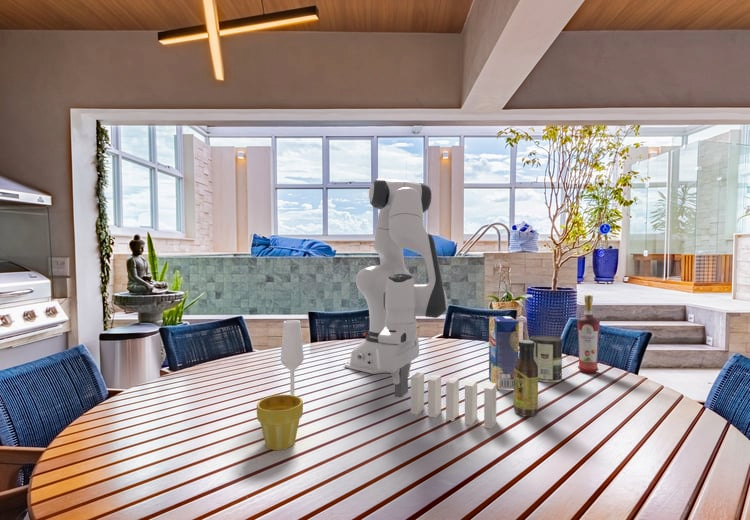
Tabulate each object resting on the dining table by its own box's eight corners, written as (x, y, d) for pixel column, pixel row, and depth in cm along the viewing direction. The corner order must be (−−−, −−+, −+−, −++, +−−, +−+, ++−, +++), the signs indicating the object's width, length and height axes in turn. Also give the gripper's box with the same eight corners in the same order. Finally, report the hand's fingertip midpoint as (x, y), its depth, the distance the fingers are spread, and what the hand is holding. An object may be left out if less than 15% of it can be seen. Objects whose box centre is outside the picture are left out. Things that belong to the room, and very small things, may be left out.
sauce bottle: (510, 408, 118) (510, 338, 117) (532, 408, 118) (533, 338, 117) (518, 417, 111) (518, 343, 111) (541, 417, 111) (542, 343, 111)
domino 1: (394, 396, 117) (394, 361, 117) (401, 391, 121) (401, 357, 121) (401, 397, 116) (400, 361, 116) (408, 392, 120) (407, 357, 120)
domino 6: (484, 427, 105) (484, 388, 105) (488, 420, 110) (488, 382, 109) (492, 428, 104) (492, 389, 104) (496, 421, 109) (496, 383, 109)
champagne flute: (308, 402, 123) (308, 321, 122) (289, 408, 118) (289, 324, 117) (295, 397, 127) (294, 318, 127) (276, 403, 122) (275, 321, 122)
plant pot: (280, 459, 89) (280, 414, 89) (247, 447, 95) (247, 404, 95) (312, 440, 98) (311, 399, 98) (280, 430, 104) (279, 391, 103)
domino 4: (445, 419, 110) (446, 382, 110) (451, 413, 114) (451, 377, 114) (453, 421, 109) (453, 383, 109) (458, 414, 113) (458, 378, 113)
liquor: (600, 370, 154) (600, 295, 153) (598, 375, 148) (599, 297, 147) (578, 367, 158) (578, 294, 157) (575, 372, 152) (576, 296, 151)
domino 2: (410, 413, 114) (410, 377, 114) (417, 407, 119) (417, 372, 119) (417, 414, 114) (417, 378, 113) (424, 408, 118) (424, 373, 118)
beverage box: (509, 379, 144) (509, 316, 143) (518, 390, 133) (518, 321, 132) (488, 379, 144) (489, 316, 144) (496, 390, 133) (497, 321, 133)
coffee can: (554, 373, 151) (555, 334, 150) (567, 382, 140) (567, 341, 140) (526, 373, 151) (526, 334, 150) (536, 382, 140) (536, 341, 140)
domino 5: (464, 423, 108) (464, 385, 107) (469, 416, 112) (469, 379, 112) (472, 425, 107) (472, 386, 106) (477, 418, 111) (477, 380, 111)
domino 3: (428, 416, 112) (428, 379, 112) (434, 410, 117) (434, 374, 116) (435, 417, 111) (435, 380, 111) (441, 411, 116) (441, 375, 115)
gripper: (404, 325, 129) (405, 369, 129) (375, 337, 111) (375, 389, 111) (424, 326, 126) (424, 372, 126) (396, 339, 108) (397, 392, 108)
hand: (401, 380), depth 118 cm, fingers closed on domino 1, 5 cm apart
